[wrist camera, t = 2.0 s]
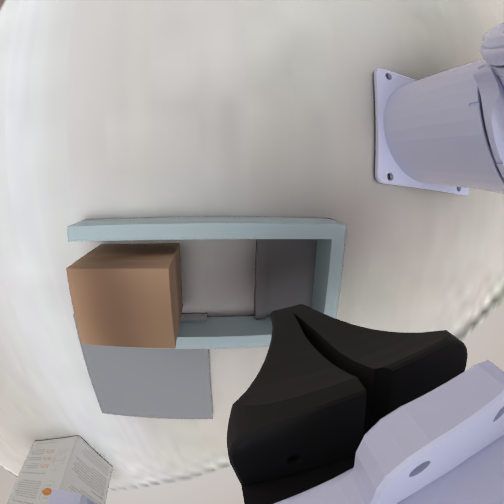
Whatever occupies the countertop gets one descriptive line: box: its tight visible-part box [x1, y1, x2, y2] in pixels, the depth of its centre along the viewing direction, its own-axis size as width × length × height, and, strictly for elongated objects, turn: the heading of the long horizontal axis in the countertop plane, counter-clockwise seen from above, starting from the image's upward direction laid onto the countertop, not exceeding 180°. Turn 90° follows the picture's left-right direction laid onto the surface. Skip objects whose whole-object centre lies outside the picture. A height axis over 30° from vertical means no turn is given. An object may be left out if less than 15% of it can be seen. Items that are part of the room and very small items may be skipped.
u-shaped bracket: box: [67, 217, 346, 349], centre depth 16 cm, size 15×7×2 cm, turn 89°
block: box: [66, 243, 183, 349], centre depth 15 cm, size 5×4×5 cm
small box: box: [7, 436, 112, 504], centre depth 15 cm, size 8×6×10 cm
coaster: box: [73, 314, 213, 419], centre depth 18 cm, size 9×9×1 cm
